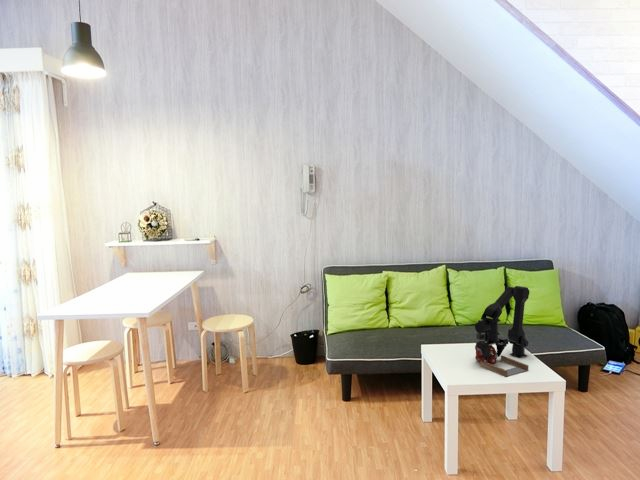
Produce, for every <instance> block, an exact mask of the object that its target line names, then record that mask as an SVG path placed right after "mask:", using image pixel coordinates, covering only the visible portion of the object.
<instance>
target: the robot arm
mask: <svg viewBox="0 0 640 480" xmlns="http://www.w3.org/2000/svg"><path fill="white" fill-rule="evenodd" d="M529 296H530V289H529V288H528V287H525V286H520V285H515V286H507V287H505V290H504V291H503V292H502V294H500V296H499V297H498V298H497V299H496V300H495V301H494V302H493V303H491V304H488V306H487V307H486V308H484V310H483V313H482V315H481V317H480V319H479V320H477V322H476V323H475V325H474V330H475V331H476V332H477V333H476V335H475V336H476V339H477V340H479V341H477V342H475V345H476V347H478V348H479V349H481V351H482V353H483V355H484V358H485V360H487V359H488V354H489V350H490V349H488V348H489V345H492V346H493V345H495V346H496V352H497V358H501V356H502V353H503V351H504V350H505V348H506V347H507V346H508V345H509V344H511V345H512V346H511V353H509V355H510V356H513V357H516V358H518V359H519V358H523V357H527V356H528V354H527V353H526V350H525V349H526V348H527V347H528V346H529V341H528V340H527V339H526V337H525V334H526V333H525V331H524V328H523V325H524V324H523V323H524V312H525V305H526V301H528V299H529ZM512 298H513V299H514V309H513V320H512V327H511V328H508V331H507V338H506V337H502V336H500V332H499V329H498V328H499V322H501V319H500V316H501V315H502V314H503V309H504V307H505V306H506V305H507V304H508V302H510V300H511V299H512ZM525 353H526V354H525Z"/></svg>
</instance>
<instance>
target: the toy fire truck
mask: <svg viewBox="0 0 640 480" xmlns="http://www.w3.org/2000/svg"><path fill="white" fill-rule="evenodd" d="M474 349H475V357H474V358H475V361H477V362H480V361H484V362H487V363H489V364H492V365H495V364H496V363H497V361H498V360H497V359H498V357H497V349H495V347H494V346H493V345H489V348H488V349H490V350H489V354H488V359H487V360H485V358H484V355H483V353H482V351H481V349H479V348H478V347H476V344H475V345H474Z"/></svg>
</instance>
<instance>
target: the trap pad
mask: <svg viewBox="0 0 640 480" xmlns="http://www.w3.org/2000/svg"><path fill="white" fill-rule="evenodd" d="M506 370H507V377H511V376H515V375H519V374H521V373H522V374H523V373H526V372H527V371H526V370H523V369H521V368H518V367H511V368H509V369H506Z"/></svg>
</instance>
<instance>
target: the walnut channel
mask: <svg viewBox="0 0 640 480" xmlns="http://www.w3.org/2000/svg"><path fill="white" fill-rule="evenodd" d="M479 362H480V364H479V365H480V368H484V369H486V370H488V371H490V372H492V373H495V374H498V375H500V376H502V377H504V378H507V377H508V376H507V369H504V368H502V367H499V366H496V365H495V364H491V363H490V362H488V363H487V362H484V361H479ZM500 362H502V363H505V364H507V365H510V366H512V367H513V368H515V367H518V368H521V369H523V370H526V372H529V365H528V364H525V363H524V362H521V361H518V360H515V359H513V358H510V357H507V356H505V355H500Z"/></svg>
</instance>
